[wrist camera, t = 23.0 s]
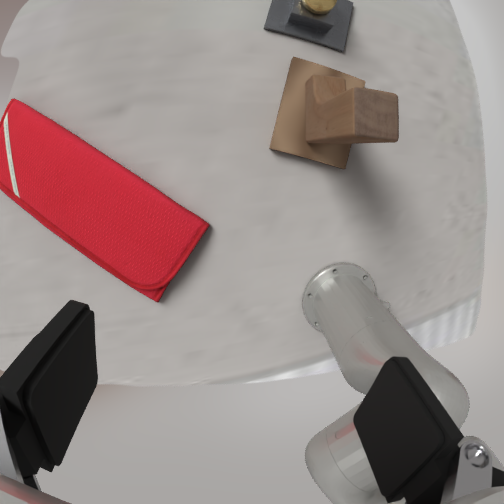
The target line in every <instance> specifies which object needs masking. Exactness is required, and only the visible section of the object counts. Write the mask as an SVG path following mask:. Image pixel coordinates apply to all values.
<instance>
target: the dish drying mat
mask: <svg viewBox="0 0 504 504" xmlns="http://www.w3.org/2000/svg"><path fill="white" fill-rule="evenodd" d="M0 189H1V190H2V191H3V192H4V193H5V194H6V195H7V196H8V197H10V198H11V199H12V200H13V201H15V202H16V203H17V204H18V205H19V206H21V207H22V208H23V209H24V210H26V211H27V212H28V213H29V214H31V215H32V216H33V217H34V218H36V219H37V220H38V221H39V222H40V223H41V224H43V225H44V226H45V227H47V228H48V229H49V230H51V231H52V232H53V233H55V234H56V235H57V236H59V237H60V238H62V239H63V240H64V241H66V242H67V243H68V244H70V245H71V246H73V247H74V248H75V249H77V250H78V251H80V252H81V253H82V254H84V255H85V256H87V257H88V258H89V259H91V260H92V261H93V262H95V263H96V264H98V265H99V266H100V267H102V268H103V269H105V270H106V271H108V272H110V273H111V274H113V275H114V276H115V277H117V278H118V279H120V280H121V281H123V282H124V283H126V284H127V285H129V286H130V287H132V288H134V289H135V290H137V291H139V292H140V293H142V294H144V295H146V296H147V297H149V298H150V299H152V300H154V301H156V302H159V300H160V298H161V296H162V294H163V292H164V291H165V289H166V287H167V286H168V284H169V283H170V281H171V280H172V279H173V278H174V276H175V275H176V274H177V272H178V271H179V270H180V268H181V267H182V266H183V264H184V263H185V261H186V260H187V258H188V257H189V255H190V254H191V252H192V251H193V249H194V248H195V246H196V245H197V243H198V242H199V240H200V239H201V237H202V236H203V234H204V233H205V232H206V230H207V228H208V227H209V223H207V222H205V221H204V220H203V219H201V218H200V217H199V216H197V215H196V214H194V213H192V212H191V211H189V210H187V209H186V208H184V207H182V206H181V205H179V204H178V203H176V202H175V201H173V200H172V199H170V198H169V197H167V196H166V195H165V194H163V193H162V192H161V191H159V190H158V189H156V188H155V187H153V186H152V185H150V184H149V183H147V182H146V181H144V180H143V179H141V178H140V177H138V176H137V175H136V174H134V173H132V172H131V171H129V170H128V169H126V168H124V167H123V166H122V165H120V164H119V163H117V162H116V161H114V160H112V159H111V158H109V157H108V156H106V155H105V154H103V153H102V152H100V151H99V150H97V149H96V148H94V147H93V146H91V145H89V144H88V143H86V142H85V141H84V140H82V139H81V138H79V137H78V136H76V135H75V134H73V133H71V132H70V131H68V130H67V129H65V128H64V127H62V126H60V125H59V124H57V123H56V122H54V121H53V120H51V119H49V118H48V117H46V116H44V115H42V114H41V113H39V112H37V111H36V110H34V109H32V108H31V107H29V106H28V105H26V104H24V103H22V102H21V101H19V100H16V99H11V101H10V102H9V104H8V106H7V108H6V110H5V112H4V115H3V117H2V119H1V122H0Z"/></svg>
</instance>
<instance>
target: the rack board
mask: <svg viewBox="0 0 504 504" xmlns="http://www.w3.org/2000/svg"><path fill="white" fill-rule="evenodd" d="M314 74H316V75H325V76H333V77H341V78H344V79H345V80H346V90H349V89H351V88H353V87H361V88H364V85H365V81H363V80H361V79H358V78H356V77H353V76H351V75H348V74H345V73H342V72H340V71H337V70H334V69H331V68H328V67H325V66H322V65H319V64H316V63H313V62H310V61H306V60H303V59H300V58H296V57H293V58H292V60H291V64H290V68H289V72H288V76H287V80H286V84H285V88H284V92H283V96H282V100H281V103H280V107H279V111H278V115H277V120H276V124H275V128H274V132H273V136H272V140H271V144H270V148H269V149H273V150H277V151H281V152H285V153H289V154H293V155H296V156H300V157H304V158H307V159H311V160H314V161H318V162H321V163H324V164H328V165H331V166H334V167H338V168H341V169H345V168H346V164H347V160H348V156H349V152H350V148H351V144H319V143H308V142H306V96H305V83H306V81H307V80H308V79H309V78H310V77H311V76H312V75H314Z"/></svg>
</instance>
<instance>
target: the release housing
mask: <svg viewBox="0 0 504 504" xmlns="http://www.w3.org/2000/svg"><path fill="white" fill-rule="evenodd" d="M352 6H353V2H350V1H348V0H337V2H336V4H335V6H334V7H333V8H332V10H331V11H330V12H328V13H326V14H316V13H313V12H311V11H309V10H308V9H306V8H305V6H304V5H303V3H302V0H272V3H271V6H270V9H269V13H268V16H267V19H266V23H265V26H264V29H266V30H270V31H274V32H278V33H282V34H286V35H290V36H293V37H297V38H300V39H304V40H307V41H310V42H314V43H317V44H320V45H323V46H326V47H329V48H332V49H335V50H337V51H340V52H343V51H344V47H345V42H346V37H347V32H348V27H349V22H350V17H351V11H352Z"/></svg>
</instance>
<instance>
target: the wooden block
mask: <svg viewBox="0 0 504 504" xmlns="http://www.w3.org/2000/svg"><path fill="white" fill-rule="evenodd" d="M305 96H306V142H308V143H319V144H353V143H386V142H397V141H398V138H399V115H398V96H397V95H396V94H394V93H389V92H384V91H378V90H373V89H367V88H361V87H353V88H351V89H349V90H346V80H345V79H344V78H341V77H333V76H325V75H316V74H314V75H312V76H311V77H310V78H309V79H308V80H307V81H306V83H305Z"/></svg>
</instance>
